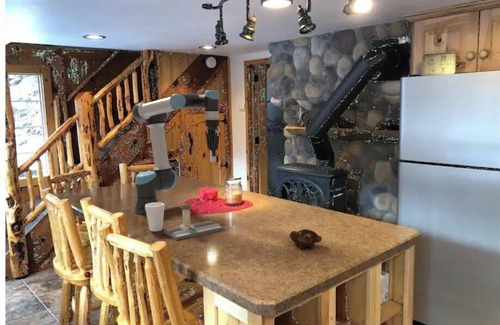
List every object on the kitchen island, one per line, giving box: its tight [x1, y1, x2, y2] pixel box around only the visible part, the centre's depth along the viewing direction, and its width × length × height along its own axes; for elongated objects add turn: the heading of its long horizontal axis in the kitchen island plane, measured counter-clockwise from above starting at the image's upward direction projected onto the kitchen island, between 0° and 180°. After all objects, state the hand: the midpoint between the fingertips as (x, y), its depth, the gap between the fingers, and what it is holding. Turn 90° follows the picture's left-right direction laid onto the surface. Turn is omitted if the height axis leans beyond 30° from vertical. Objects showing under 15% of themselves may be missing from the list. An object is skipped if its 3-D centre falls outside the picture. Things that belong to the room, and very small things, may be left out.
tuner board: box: [163, 219, 225, 241], centre depth 203 cm, size 14×26×3 cm, turn 125°
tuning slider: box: [178, 202, 195, 231], centre depth 198 cm, size 11×5×13 cm, turn 35°
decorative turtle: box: [289, 228, 323, 250], centre depth 179 cm, size 10×15×8 cm, turn 114°
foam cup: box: [145, 202, 166, 232], centre depth 207 cm, size 10×9×13 cm
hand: (212, 162), depth 225 cm, fingers closed
